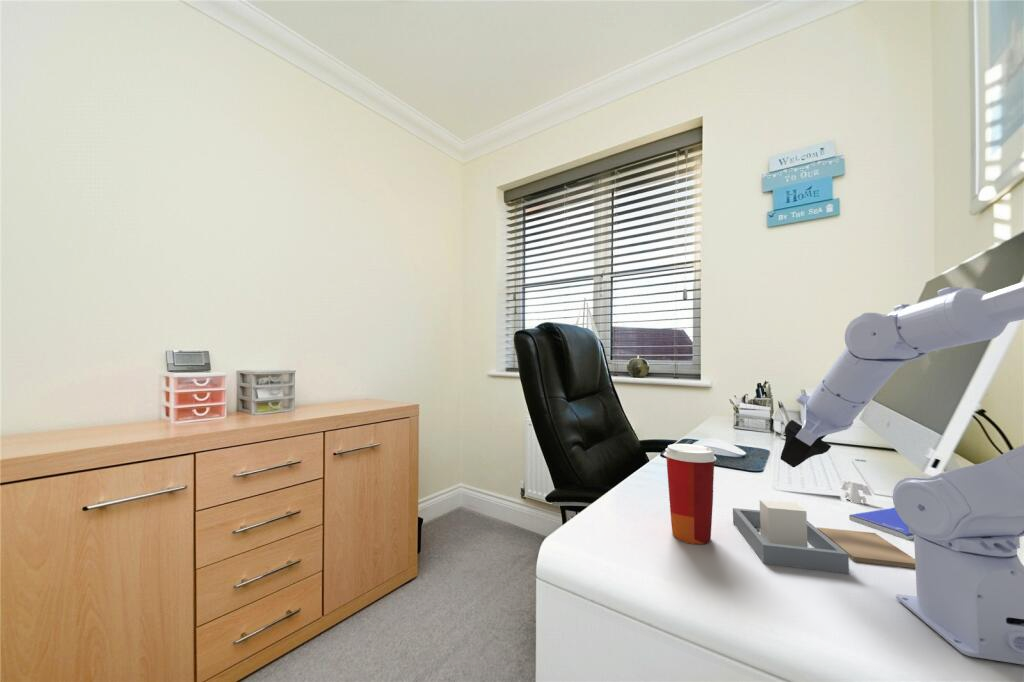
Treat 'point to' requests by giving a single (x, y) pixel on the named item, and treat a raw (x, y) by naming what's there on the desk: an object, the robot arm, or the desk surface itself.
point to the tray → (815, 558)
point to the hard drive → (884, 522)
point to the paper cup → (690, 491)
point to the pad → (868, 548)
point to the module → (783, 523)
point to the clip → (855, 491)
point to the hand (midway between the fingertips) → (797, 450)
